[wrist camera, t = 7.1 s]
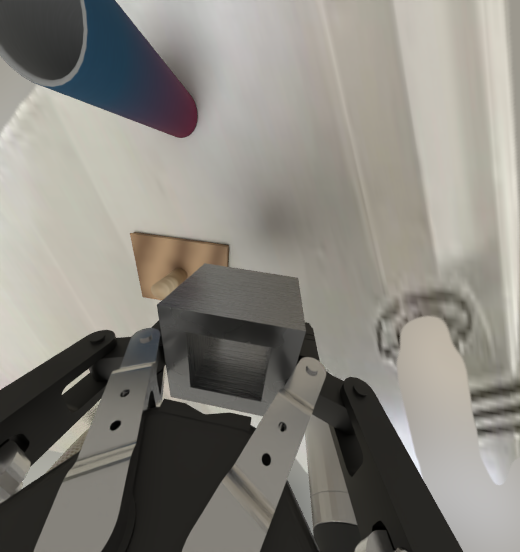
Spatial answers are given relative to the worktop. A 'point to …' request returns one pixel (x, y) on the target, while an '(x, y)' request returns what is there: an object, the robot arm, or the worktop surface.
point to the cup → (95, 60)
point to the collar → (232, 337)
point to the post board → (171, 261)
